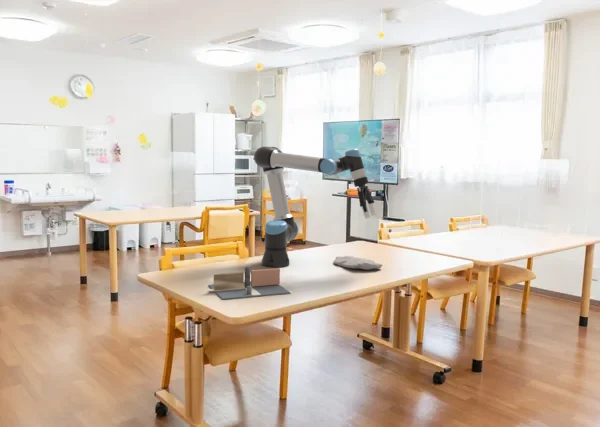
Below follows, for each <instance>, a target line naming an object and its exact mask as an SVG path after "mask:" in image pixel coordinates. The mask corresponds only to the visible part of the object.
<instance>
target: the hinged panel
mask: <svg viewBox="0 0 600 427" xmlns="http://www.w3.org/2000/svg"><path fill="white" fill-rule="evenodd" d="M280 279H281V269H280V267H275V268H263V269H250V281H251V286H252V287H254V286H266V285H277V284H279V285H280V284H281V280H280Z"/></svg>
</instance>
